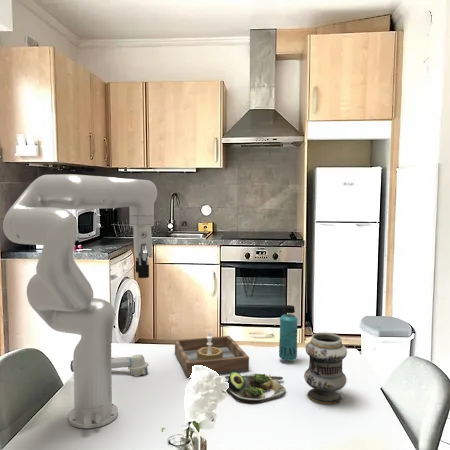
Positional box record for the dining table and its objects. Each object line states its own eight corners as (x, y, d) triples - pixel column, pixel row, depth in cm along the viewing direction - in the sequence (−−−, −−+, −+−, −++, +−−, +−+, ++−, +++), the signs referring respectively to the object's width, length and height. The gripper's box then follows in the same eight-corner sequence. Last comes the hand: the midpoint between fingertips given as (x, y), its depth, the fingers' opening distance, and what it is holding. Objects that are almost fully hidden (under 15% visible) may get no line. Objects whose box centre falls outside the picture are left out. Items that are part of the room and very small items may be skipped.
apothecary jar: (325, 410, 119) (326, 346, 118) (295, 393, 129) (296, 334, 128) (354, 399, 126) (356, 338, 125) (324, 384, 136) (325, 327, 135)
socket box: (248, 371, 145) (248, 357, 145) (186, 378, 139) (186, 363, 139) (228, 348, 167) (229, 335, 167) (174, 353, 161) (174, 340, 161)
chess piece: (209, 355, 156) (209, 328, 156) (219, 359, 153) (219, 331, 153) (199, 359, 153) (199, 331, 152) (209, 363, 150) (210, 334, 149)
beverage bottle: (277, 363, 152) (278, 307, 151) (280, 356, 159) (281, 303, 157) (295, 365, 150) (296, 309, 149) (298, 359, 157) (299, 304, 155)
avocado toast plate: (269, 373, 145) (269, 359, 145) (300, 395, 129) (300, 380, 128) (216, 383, 137) (216, 369, 136) (242, 408, 121) (242, 392, 120)
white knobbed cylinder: (75, 356, 148) (147, 349, 145) (78, 375, 148) (150, 369, 145) (68, 362, 142) (143, 355, 140) (71, 382, 143) (146, 375, 140)
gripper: (157, 222, 130) (157, 279, 131) (150, 219, 146) (150, 270, 147) (131, 223, 127) (132, 280, 129) (127, 219, 144) (128, 270, 145)
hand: (142, 274), depth 138 cm, fingers open, 9 cm apart
